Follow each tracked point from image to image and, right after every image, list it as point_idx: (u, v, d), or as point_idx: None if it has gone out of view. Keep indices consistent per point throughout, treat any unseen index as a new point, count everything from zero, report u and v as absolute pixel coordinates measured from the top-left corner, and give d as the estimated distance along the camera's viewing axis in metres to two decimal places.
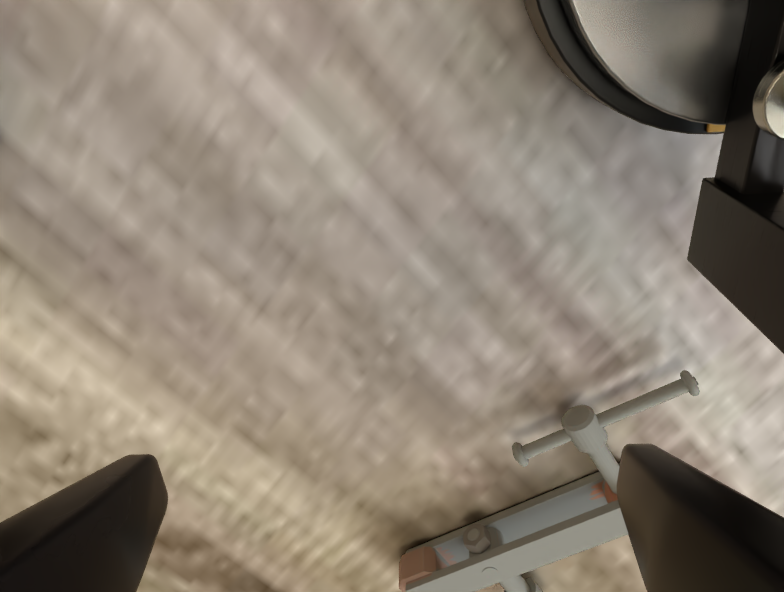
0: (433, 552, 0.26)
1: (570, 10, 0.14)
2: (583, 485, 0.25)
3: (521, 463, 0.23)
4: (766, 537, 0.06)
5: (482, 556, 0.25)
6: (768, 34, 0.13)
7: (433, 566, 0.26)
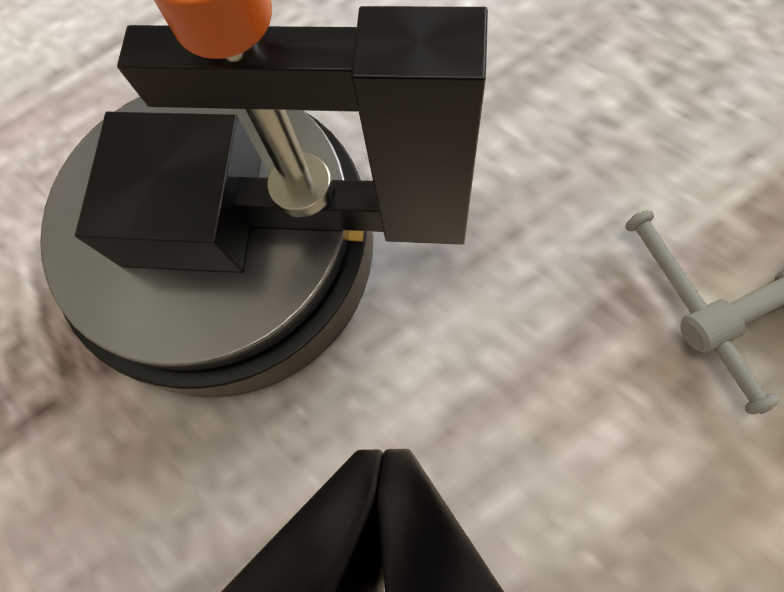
0: None
1: (237, 355, 0.17)
2: None
3: (771, 403, 0.17)
4: (420, 541, 0.06)
5: None
6: (264, 213, 0.17)
7: None
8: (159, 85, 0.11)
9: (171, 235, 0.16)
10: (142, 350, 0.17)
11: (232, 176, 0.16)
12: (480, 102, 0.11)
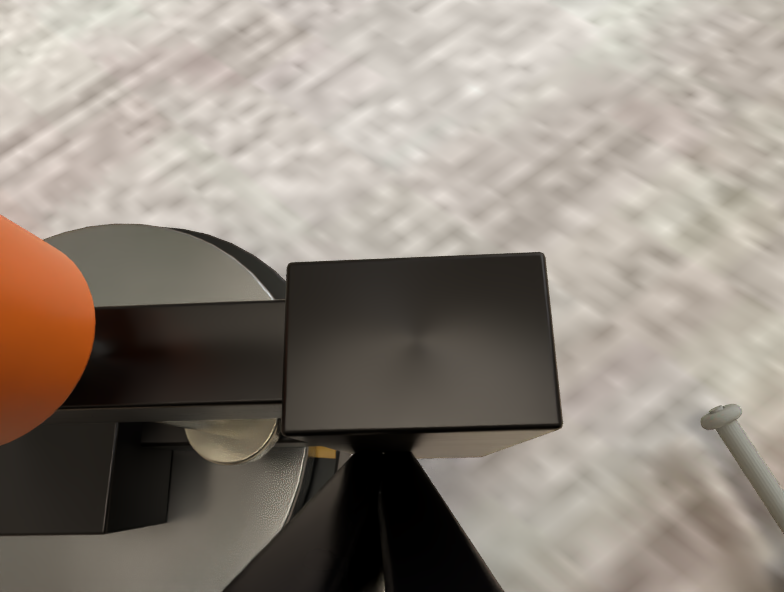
0: None
1: None
2: None
3: None
4: (420, 541, 0.06)
5: None
6: (187, 446, 0.11)
7: None
8: None
9: (36, 527, 0.10)
10: None
11: None
12: (544, 433, 0.05)
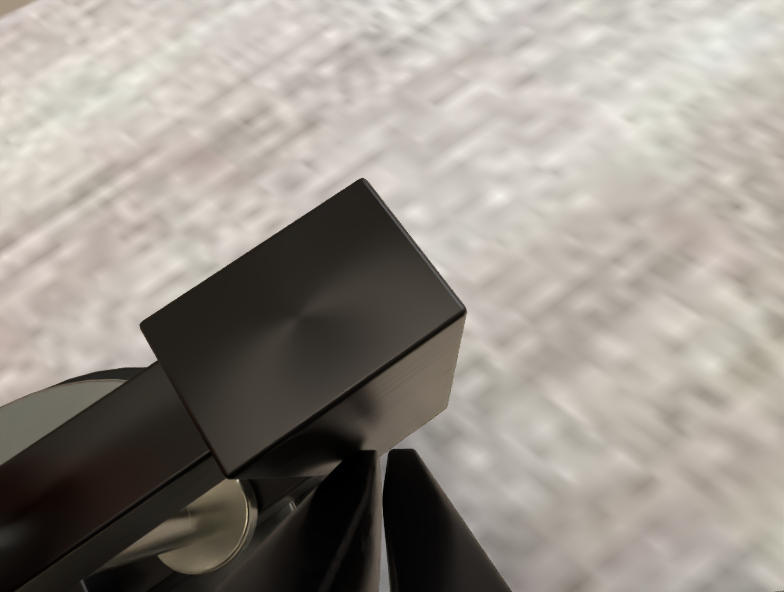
0: None
1: None
2: None
3: None
4: (426, 541, 0.06)
5: None
6: (177, 577, 0.11)
7: None
8: None
9: None
10: None
11: (96, 575, 0.10)
12: (461, 331, 0.05)
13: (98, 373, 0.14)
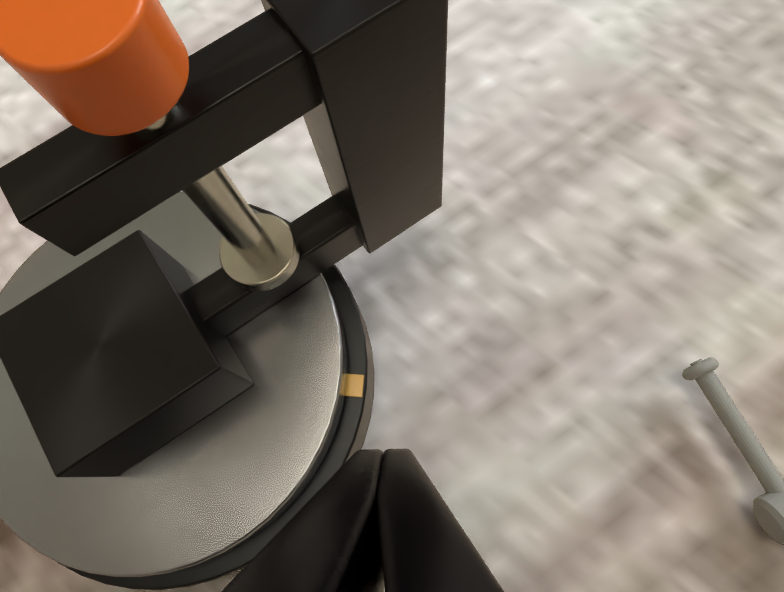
0: None
1: (313, 467, 0.14)
2: None
3: None
4: (420, 541, 0.06)
5: None
6: (237, 308, 0.14)
7: None
8: (81, 216, 0.08)
9: (168, 395, 0.12)
10: (212, 539, 0.14)
11: (181, 292, 0.13)
12: (446, 8, 0.09)
13: None
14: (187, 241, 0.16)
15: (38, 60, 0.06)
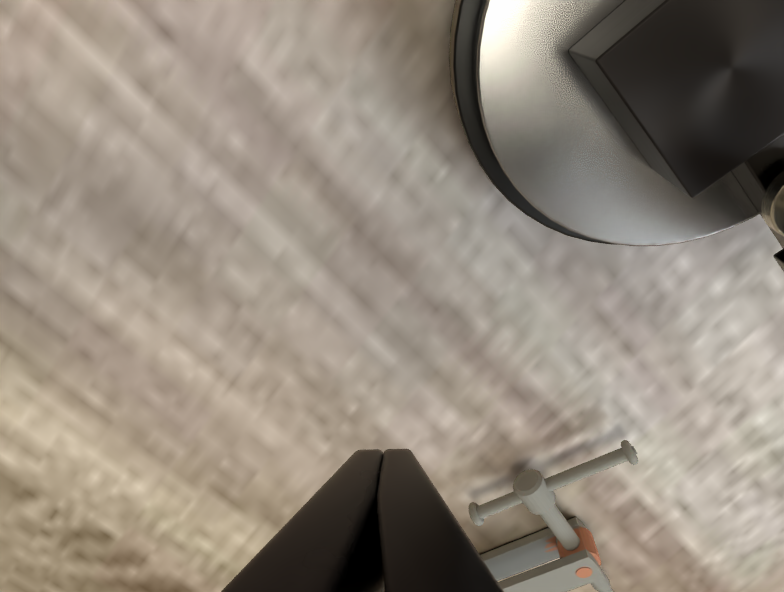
0: None
1: None
2: (538, 539, 0.26)
3: (476, 523, 0.24)
4: (419, 541, 0.06)
5: None
6: (742, 166, 0.14)
7: None
8: None
9: (670, 156, 0.13)
10: (514, 161, 0.15)
11: None
12: None
13: None
14: None
15: None
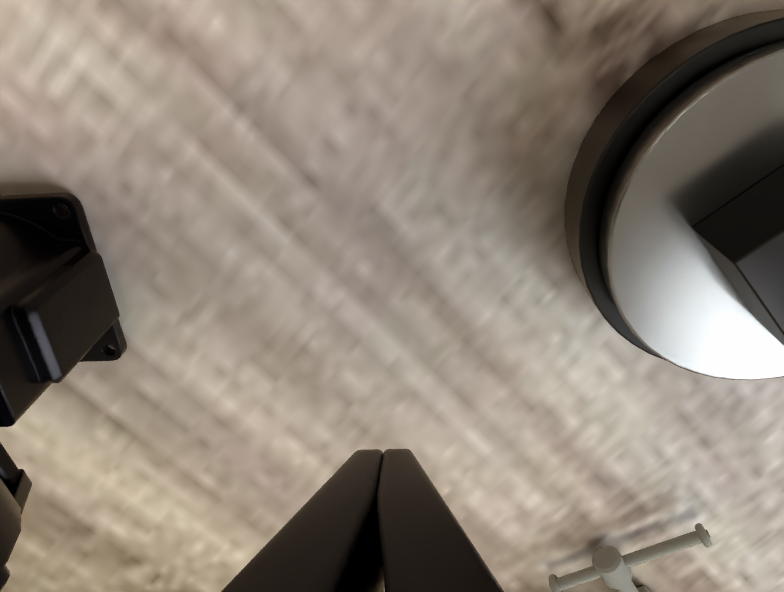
0: None
1: None
2: None
3: None
4: (420, 541, 0.06)
5: None
6: None
7: None
8: None
9: None
10: (634, 312, 0.17)
11: None
12: None
13: None
14: None
15: None
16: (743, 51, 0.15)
